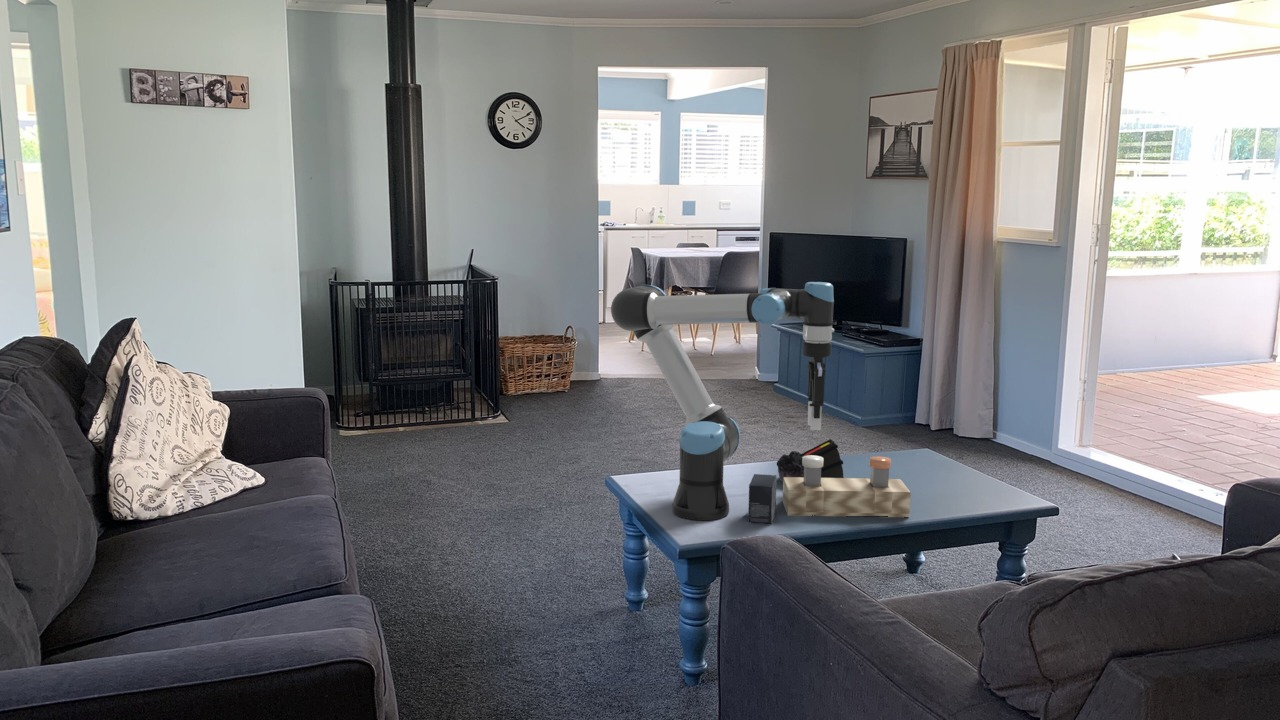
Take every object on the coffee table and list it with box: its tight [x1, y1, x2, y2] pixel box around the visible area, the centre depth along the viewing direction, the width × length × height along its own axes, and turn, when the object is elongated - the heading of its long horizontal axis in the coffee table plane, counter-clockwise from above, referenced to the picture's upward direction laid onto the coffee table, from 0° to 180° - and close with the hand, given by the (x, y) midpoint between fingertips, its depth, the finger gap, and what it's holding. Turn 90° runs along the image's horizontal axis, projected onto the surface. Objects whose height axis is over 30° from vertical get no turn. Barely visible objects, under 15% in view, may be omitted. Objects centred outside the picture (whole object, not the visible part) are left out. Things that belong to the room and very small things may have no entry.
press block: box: [782, 477, 912, 518], centre depth 262 cm, size 32×12×7 cm, turn 88°
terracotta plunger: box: [868, 455, 892, 488], centre depth 261 cm, size 6×6×8 cm
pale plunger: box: [802, 455, 824, 487], centre depth 261 cm, size 6×6×8 cm
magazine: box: [798, 438, 845, 478], centre depth 278 cm, size 4×13×15 cm, turn 99°
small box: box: [748, 473, 777, 526], centre depth 255 cm, size 11×6×10 cm, turn 166°
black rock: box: [776, 450, 804, 483], centre depth 289 cm, size 13×14×10 cm
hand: (814, 427), depth 259 cm, fingers open, 4 cm apart
